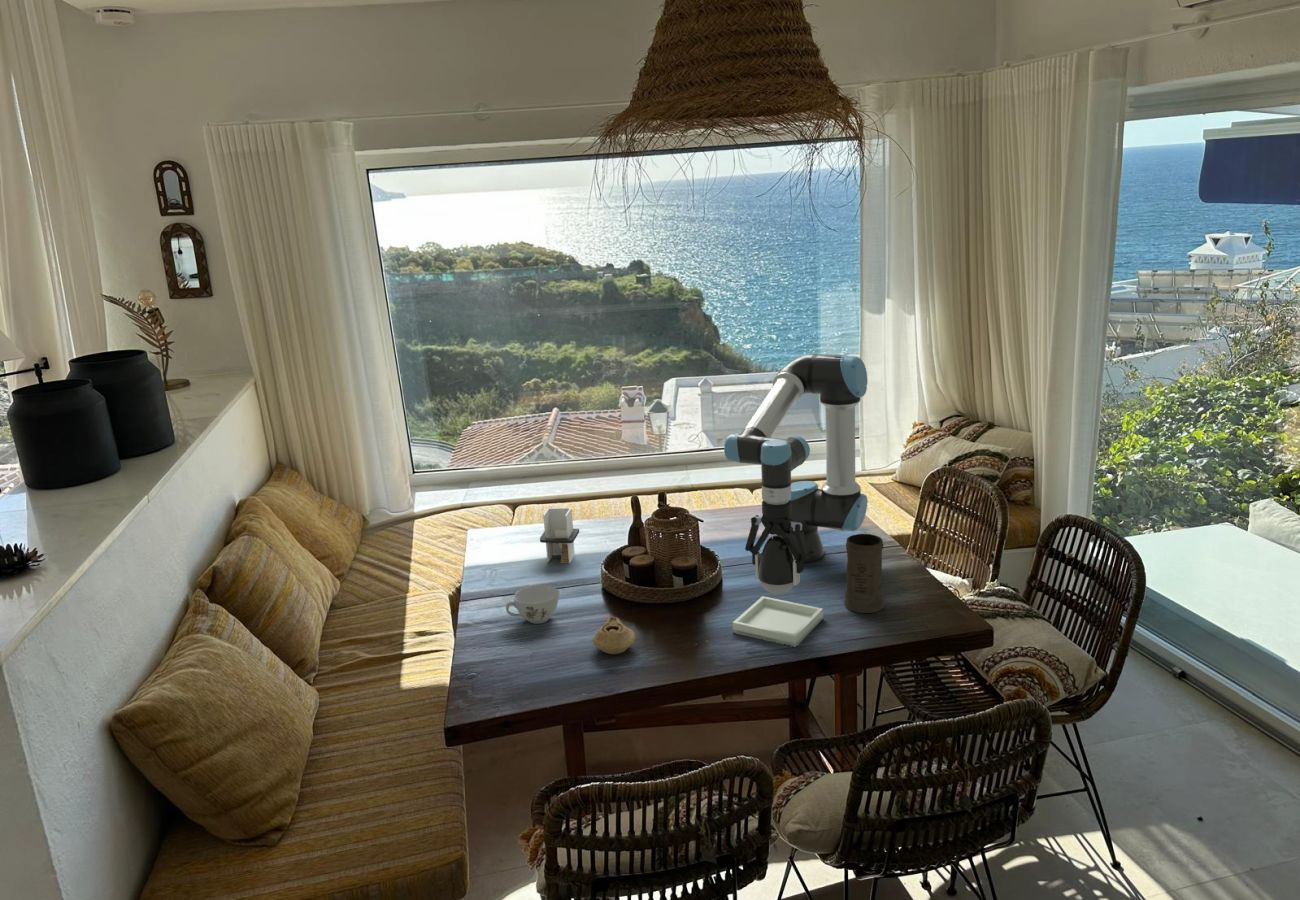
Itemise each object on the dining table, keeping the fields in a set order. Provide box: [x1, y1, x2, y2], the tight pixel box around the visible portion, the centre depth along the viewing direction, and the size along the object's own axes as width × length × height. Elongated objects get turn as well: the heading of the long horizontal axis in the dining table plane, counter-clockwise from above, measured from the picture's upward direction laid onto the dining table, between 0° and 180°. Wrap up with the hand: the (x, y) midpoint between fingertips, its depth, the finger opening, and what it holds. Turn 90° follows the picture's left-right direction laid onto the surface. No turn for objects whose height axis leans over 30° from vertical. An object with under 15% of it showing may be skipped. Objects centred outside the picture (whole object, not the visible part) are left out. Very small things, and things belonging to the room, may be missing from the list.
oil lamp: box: [592, 616, 636, 655], centre depth 244 cm, size 11×15×8 cm
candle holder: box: [539, 507, 580, 564], centre depth 303 cm, size 25×24×16 cm
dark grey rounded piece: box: [757, 535, 795, 594], centre depth 247 cm, size 10×10×15 cm
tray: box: [732, 595, 824, 648], centre depth 252 cm, size 18×18×3 cm
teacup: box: [505, 584, 560, 625], centre depth 262 cm, size 15×12×8 cm
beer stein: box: [843, 533, 885, 614], centre depth 261 cm, size 15×11×20 cm
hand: (777, 579), depth 249 cm, fingers closed on dark grey rounded piece, 10 cm apart
